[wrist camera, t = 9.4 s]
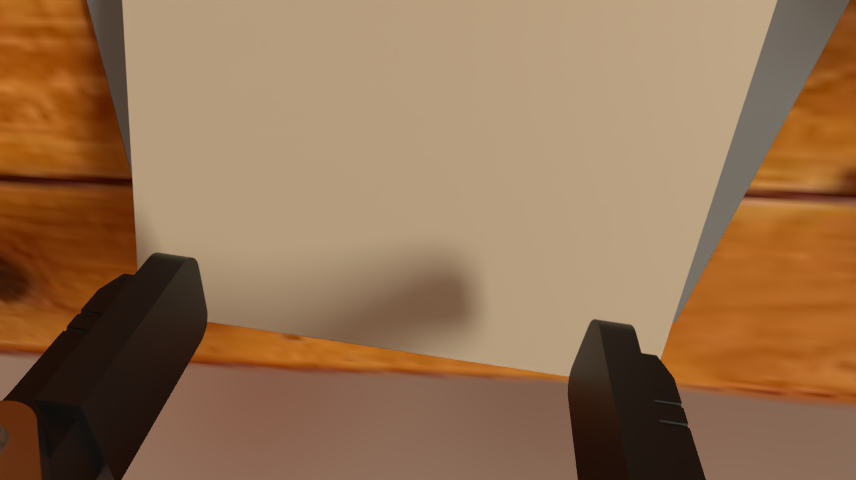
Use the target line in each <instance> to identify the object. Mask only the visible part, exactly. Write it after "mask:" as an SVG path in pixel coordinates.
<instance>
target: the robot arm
mask: <svg viewBox="0 0 856 480" xmlns="http://www.w3.org/2000/svg"><path fill="white" fill-rule="evenodd" d="M207 318H208V312H207V306H206V301H205V296H204V291H203V285H202V280H201V275H200V270H199V265H198V262H197V260H196V259H195V258H192V257H185V256H178V255H172V254H165V253H158V252H157V253H153V254H152V255H150V257H149V258H148V259H147V260H146V261H145V262H144V264H143V265H142V266H141V267H140V269H139V270H138V271H137V272H136V274H135V275H130V274H123V275H121V276H119V277H118V278H116V279H115V280H113V281H111V282H110V283H108V284H107V285H105V286H103V287H102V288H100V289H99V290H98V291H97V292H96V293H95V294H94V296H93V297H92V298H91V299H90V300H89V301H88V302H87V304H86V305H85V306H84V307H83V308H82V309H81V314H77V315H76V316H75V318H74V319H73V320H72V321H71V322H70V323H69V325H68V326H67V330H66V331H63V332H62V333H61V334H60V335H59V336H58V337H57V339H56V340H55V341H54V342H53V343H52V344H51V345H50V347H49V348H48V349H47V350H46V351H45V352H44V354H43V355H42V356H41V357H40V358H39V359H38V361H37V362H36V363H35V364H34V365H33V366H32V368H31V369H30V370H29V371H28V372H27V373H26V375H25V376H24V377H23V378H22V379H21V380H20V382H19V383H18V384H17V385H16V386H15V388H14V389H13V390H12V391H11V392H10V393H9V394H8V395H7V396H6V397H5V398H4V399H3V400H2V401H0V480H121V479H122V478H123V476H124V474H125V473H126V470H127V469H128V467H129V466H130V464H131V462H132V460H133V459H134V457H135V455H136V453H137V452H138V450H139V448H140V446H141V445H142V443H143V441H144V439H145V438H146V436H147V434H148V432H149V431H150V429H151V427H152V426H153V424H154V422H155V420H156V419H157V417H158V415H159V414H160V412H161V410H162V408H163V406H164V405H165V403H166V401H167V399H168V398H169V396H170V394H171V393H172V391H173V389H174V387H175V385H176V384H177V382H178V381H179V379H180V377H181V375H182V374H183V372H184V370H185V368H186V367H187V365H188V363H189V361H190V360H191V358H192V356H193V355H194V353H195V351H196V349H197V348H198V346H199V344H200V342H201V340H202V338H203V336H204V333H205V330H206V326H207ZM568 401H569V408H570V417H571V426H572V434H573V442H574V451H575V459H576V468H577V476H578V480H706V479H705V476H704V472H703V469H702V466H701V463H700V460H699V456H698V454H697V450H696V447H695V444H694V441H693V437H692V434H691V431H690V428H688V427H687V425H688V422H687V419H686V415H685V412H684V409H683V408H682V407H681V403H682V402H681V399H680V396H679V393H678V390H677V386H676V383H675V380H674V378H673V376H672V375H671V374H670V372H669V371H668V370H667V368H666V367H665V366H664V364H663V363H662V362H661V360H660V359H659V358H658V357H657V355H651V354H645V353H641V349H640V345H639V342H638V338H637V334H636V331H635V329H634V327H633V326H632V325H630V324H623V323H617V322H610V321H603V320H597V319H593V320H592V321H591V322H590V324H589V326H588V328H587V331H586V333H585V336H584V338H583V341H582V343H581V346H580V348H579V351H578V353H577V355H576V358H575V360H574V363H573V365H572V368H571V371H570V376H569V383H568Z"/></svg>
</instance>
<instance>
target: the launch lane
mask: <svg viewBox="0 0 856 480" xmlns="http://www.w3.org/2000/svg"><path fill="white" fill-rule="evenodd" d="M849 1H850V0H87V3H88V7H89V11H90V15H91V19H92V23H93V27H94V31H95V34H96V38H97V42H98V46H99V50H100V54H101V58H102V62H103V66H104V70H105V73H106V77H107V81H108V85H109V89H110V93H111V97H112V101H113V105H114V109H115V112H116V116H117V120H118V124H119V128H120V132H121V136H122V140H123V144H124V148H125V151H126V155H127V159H128V163H129V167H130V171H131V175H132V180H133V198H134V215H135V233H136V250H137V268H138V270H139V269H140V267H141V266H142V265H143V264H144V262H145V261H146V260H147V259H148V258H149V257H150V255H152V254H153V253H157V252H158V253H165V254H172V255H178V256H185V257H192V258H195V259H196V260H197V262H198V265H199V270H200V275H201V280H202V285H203V291H204V296H205V301H206V306H207V312H208V318H207V322H213V323H220V324H226V325H233V326H239V327H246V328H252V329H259V330H266V331H272V332H279V333H285V334H292V335H299V336H305V337H312V338H318V339H325V340H331V341H338V342H345V343H351V344H358V345H364V346H371V347H378V348H384V349H391V350H397V351H404V352H410V353H417V354H424V355H430V356H437V357H443V358H450V359H457V360H463V361H470V362H476V363H483V364H490V365H496V366H503V367H509V368H516V369H522V370H529V371H536V372H542V373H549V374H555V375H562V376H570V371H571V368H572V365H573V363H574V360H575V358H576V355H577V353H578V351H579V348H580V346H581V343H582V341H583V338H584V336H585V333H586V331H587V328H588V326H589V324H590V322H591V321H592V320H593V319H597V320H603V321H610V322H617V323H623V324H630V325H632V326H633V327H634V329H635V331H636V334H637V338H638V342H639V345H640V349H641V353H645V354H651V355H657V357H658V358H659V359H661V356H662V353H663V350H664V347H665V344H666V341H667V338H668V335H669V331H670V328H671V325H672V322H676V320H677V319H678V317H679V315H680V313H681V311H682V309H683V308H684V306H685V304H686V302H687V300H688V298H689V296H690V295H691V293H692V291H693V289H694V287H695V285H696V284H697V282H698V280H699V278H700V276H701V274H702V273H703V271H704V269H705V267H706V265H707V263H708V261H709V260H710V258H711V256H712V254H713V252H714V250H715V249H716V247H717V245H718V243H719V241H720V239H721V237H722V236H723V234H724V232H725V230H726V228H727V226H728V225H729V223H730V221H731V219H732V217H733V215H734V214H735V212H736V210H737V208H738V206H739V204H740V202H741V201H742V199H743V197H744V195H745V193H746V191H747V190H748V188H749V186H750V184H751V182H752V180H753V178H754V177H755V175H756V173H757V171H758V169H759V167H760V166H761V164H762V162H763V160H764V158H765V156H766V155H767V153H768V151H769V149H770V147H771V145H772V143H773V142H774V140H775V138H776V136H777V134H778V132H779V131H780V129H781V127H782V125H783V123H784V121H785V119H786V118H787V116H788V114H789V112H790V110H791V108H792V107H793V105H794V103H795V101H796V99H797V97H798V95H799V94H800V92H801V90H802V88H803V86H804V84H805V83H806V81H807V79H808V77H809V75H810V73H811V72H812V70H813V68H814V66H815V64H816V62H817V60H818V59H819V57H820V55H821V53H822V51H823V49H824V48H825V46H826V44H827V42H828V40H829V38H830V36H831V35H832V33H833V31H834V29H835V27H836V25H837V24H838V22H839V20H840V18H841V16H842V14H843V13H844V11H845V9H846V7H847V5H848V3H849Z"/></svg>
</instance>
